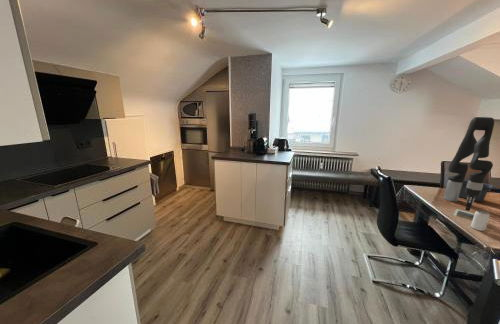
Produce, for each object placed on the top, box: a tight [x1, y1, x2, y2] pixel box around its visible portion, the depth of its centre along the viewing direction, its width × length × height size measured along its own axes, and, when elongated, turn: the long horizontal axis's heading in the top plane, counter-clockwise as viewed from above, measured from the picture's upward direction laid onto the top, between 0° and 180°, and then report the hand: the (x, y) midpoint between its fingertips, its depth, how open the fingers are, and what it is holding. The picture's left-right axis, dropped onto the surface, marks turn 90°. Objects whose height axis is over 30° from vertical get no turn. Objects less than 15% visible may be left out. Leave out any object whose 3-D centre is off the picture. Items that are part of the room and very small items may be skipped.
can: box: [470, 209, 490, 232], centre depth 134 cm, size 6×6×12 cm
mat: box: [452, 208, 475, 222], centre depth 152 cm, size 16×12×1 cm
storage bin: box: [459, 179, 493, 203], centre depth 182 cm, size 21×16×14 cm
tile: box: [455, 210, 474, 221], centre depth 150 cm, size 2×9×7 cm
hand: (467, 210), depth 149 cm, fingers closed
